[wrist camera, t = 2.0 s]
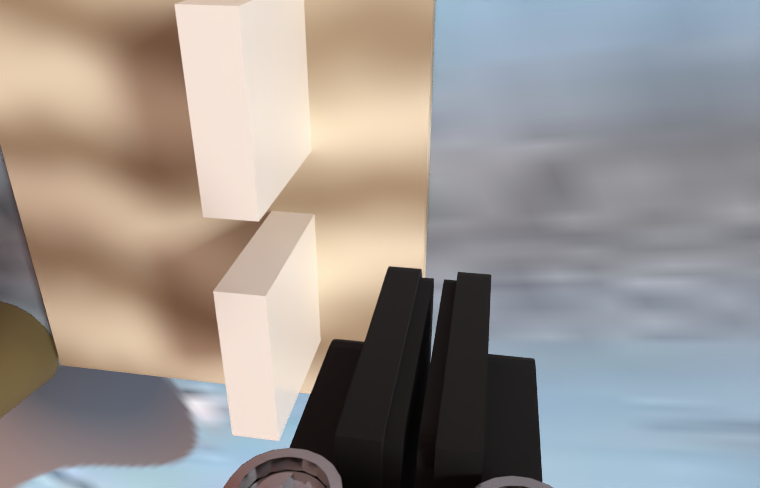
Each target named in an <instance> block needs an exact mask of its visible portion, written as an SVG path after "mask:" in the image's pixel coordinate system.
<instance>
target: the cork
mask: <svg viewBox="0 0 760 488" xmlns="http://www.w3.org/2000/svg"><path fill="white" fill-rule="evenodd" d="M57 368H58V352H57V349H56V345H55V342H54V340H53V338H52V337H51V336H50V334H49V333H48V331H47V330H46V328H45V327H44V326H43V325H42V324H41V323H40V322H39V321H37V320H36V319H35V318H34V317H33V316H32V315H30V314H29V313H27V312H25V311H24V310H22V309H20V308H18V307H17V306H14V305H10V304H7V303H4V302H1V301H0V418H2V417H3V416H4V415H5V414H6V413H8V412H9V411H10V410H11V409H13V408H14V407H15V406H16V405H18V404H19V403H20V402H22V401H23V400H24V399H25V398H27V397H28V396H29V395H30V394H31V393H33V392H34V391H35V390H37V389H38V388H39V387H40V386H42V385H43V384H44V383H45V382H47V381H48V380H49V379H50V378H52V377H53V376H54V374H55V372H56V370H57Z"/></svg>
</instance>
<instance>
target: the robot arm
mask: <svg viewBox="0 0 760 488" xmlns="http://www.w3.org/2000/svg"><path fill="white" fill-rule="evenodd" d="M433 292H434V279H433V278H422V269H417V268H405V267H393V266H389V267H388V269H387V272H386V275H385V278H384V281H383V284H382V288H381V291H380V294H379V297H378V300H377V303H376V307H375V310H374V313H373V316H372V319H371V322H370V326H369V329H368V332H367V335H366V338H365V341H364V342H363V341H353V340H343V339H333V340H332V342H331V344H330V346H329V348H328V350H327V353H326V356H325V358H324V361H323V363H322V366H321V368H320V371H319V373H318V376H317V379H316V381H315V384H314V386H313V389H312V391H311V394H310V397H309V399H308V402H307V404H306V407H305V409H304V412H303V414H302V417H301V420H300V422H299V425H298V427H297V430H296V432H295V435H294V438H293V440H292V443H291V445H290V448H286V449H277V450H271V451H268V452H266V453H263V454H260V455H257V456H255V457H253V458H252V459H250V460H249V461H247V462H246V463H244V464H242V465H241V466H240V467H239V468H238V470H237V471H236V472H235V473H234V474H233V475H232V476H231V477H230V479H229V480H228V482H227V483H226V485H225V486H224V487H223V488H553V487H551V486H550V485H548V484H545V483H542V467H541V450H540V433H539V416H538V399H537V383H536V366H535V360H534V359H532V358H523V357H513V356H503V355H493V354H488V341H489V317H490V293H491V275H489V274H477V273H465V272H458V275H457V281H456V280H444V283H443V289H442V296H441V302H440V308H439V314H438V320H437V326H436V333H435V339H434V345H433V351H432V357H431V336H432V314H433ZM430 359H431V363H430Z"/></svg>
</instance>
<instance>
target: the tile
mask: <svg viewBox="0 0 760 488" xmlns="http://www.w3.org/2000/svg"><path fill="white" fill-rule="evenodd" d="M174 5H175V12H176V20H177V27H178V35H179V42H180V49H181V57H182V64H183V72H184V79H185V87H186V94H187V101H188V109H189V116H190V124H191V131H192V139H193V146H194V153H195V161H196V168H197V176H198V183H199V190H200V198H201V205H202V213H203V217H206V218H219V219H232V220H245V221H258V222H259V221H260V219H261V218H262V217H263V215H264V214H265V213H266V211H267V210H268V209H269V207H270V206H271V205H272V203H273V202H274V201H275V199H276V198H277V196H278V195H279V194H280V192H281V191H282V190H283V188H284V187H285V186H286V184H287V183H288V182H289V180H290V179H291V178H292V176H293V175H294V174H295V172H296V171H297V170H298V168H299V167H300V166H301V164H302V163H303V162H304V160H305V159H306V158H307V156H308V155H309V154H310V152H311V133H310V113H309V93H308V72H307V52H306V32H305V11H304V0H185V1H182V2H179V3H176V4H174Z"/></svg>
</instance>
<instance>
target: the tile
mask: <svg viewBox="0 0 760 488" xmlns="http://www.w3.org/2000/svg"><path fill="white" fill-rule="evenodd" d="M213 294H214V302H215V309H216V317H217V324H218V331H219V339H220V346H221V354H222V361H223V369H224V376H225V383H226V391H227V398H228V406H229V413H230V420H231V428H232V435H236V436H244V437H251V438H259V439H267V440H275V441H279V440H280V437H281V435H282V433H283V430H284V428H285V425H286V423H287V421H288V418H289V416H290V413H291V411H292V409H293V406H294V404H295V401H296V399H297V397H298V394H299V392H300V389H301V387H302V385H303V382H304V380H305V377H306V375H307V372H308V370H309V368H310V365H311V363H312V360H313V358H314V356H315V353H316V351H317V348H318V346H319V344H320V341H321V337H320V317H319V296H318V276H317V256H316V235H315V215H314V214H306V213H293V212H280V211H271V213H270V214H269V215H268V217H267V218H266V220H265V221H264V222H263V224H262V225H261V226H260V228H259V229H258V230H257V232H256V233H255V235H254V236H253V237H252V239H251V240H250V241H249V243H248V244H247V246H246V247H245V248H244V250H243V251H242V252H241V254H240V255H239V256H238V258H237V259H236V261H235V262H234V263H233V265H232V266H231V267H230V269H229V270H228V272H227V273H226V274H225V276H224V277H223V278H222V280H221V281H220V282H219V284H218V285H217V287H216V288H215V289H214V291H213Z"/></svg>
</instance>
